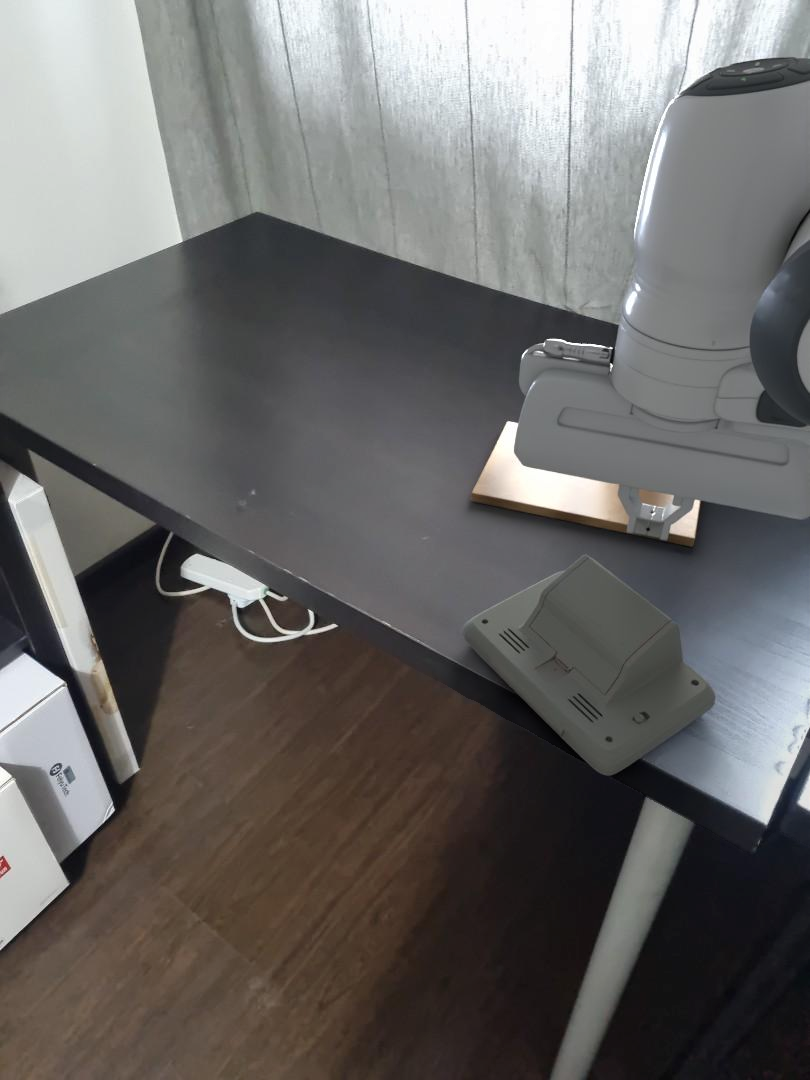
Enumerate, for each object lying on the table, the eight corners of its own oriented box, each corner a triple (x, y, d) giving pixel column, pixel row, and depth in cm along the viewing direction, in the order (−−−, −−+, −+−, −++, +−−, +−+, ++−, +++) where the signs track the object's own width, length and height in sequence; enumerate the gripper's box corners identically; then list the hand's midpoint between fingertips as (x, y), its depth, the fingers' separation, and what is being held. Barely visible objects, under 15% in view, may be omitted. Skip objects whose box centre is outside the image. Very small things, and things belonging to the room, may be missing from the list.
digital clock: (560, 568, 68) (463, 651, 66) (557, 515, 60) (446, 607, 59) (715, 712, 60) (610, 810, 59) (735, 672, 53) (614, 784, 51)
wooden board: (705, 464, 81) (707, 456, 80) (692, 547, 71) (695, 538, 71) (506, 428, 86) (507, 420, 85) (470, 501, 77) (471, 492, 76)
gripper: (510, 357, 51) (497, 527, 60) (867, 413, 46) (795, 592, 55) (533, 314, 56) (518, 479, 65) (862, 361, 50) (795, 534, 59)
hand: (647, 531), depth 60 cm, fingers closed
